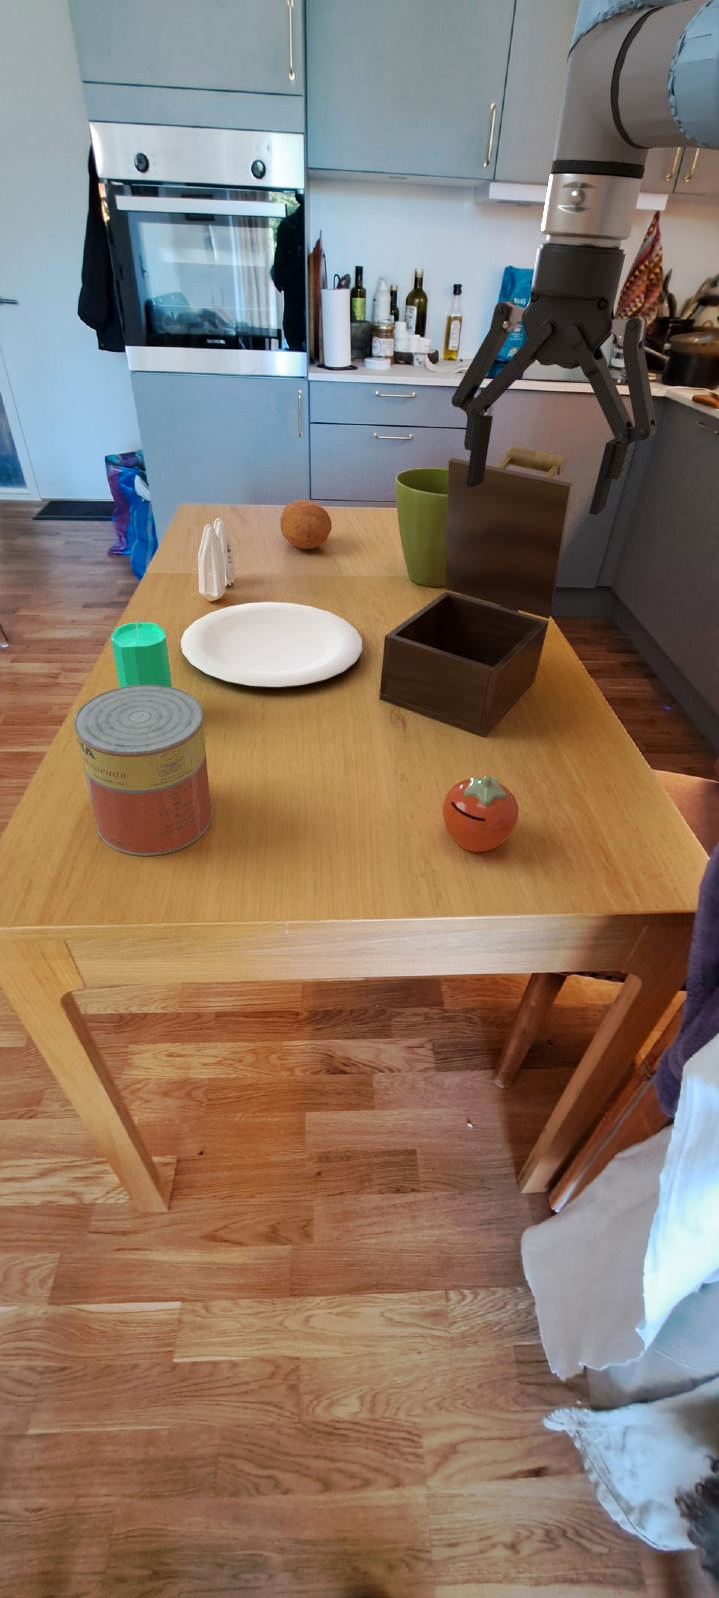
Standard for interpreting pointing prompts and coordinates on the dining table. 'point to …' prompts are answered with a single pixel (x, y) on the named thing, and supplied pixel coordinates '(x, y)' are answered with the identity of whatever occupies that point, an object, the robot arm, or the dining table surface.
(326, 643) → the plate
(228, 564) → the shaker set
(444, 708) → the dark wooden box
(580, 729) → the dining table surface
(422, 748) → the dining table surface
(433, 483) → the flower pot
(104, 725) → the canned food
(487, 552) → the lid
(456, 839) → the tomato
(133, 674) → the candle
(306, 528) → the brown coconut
